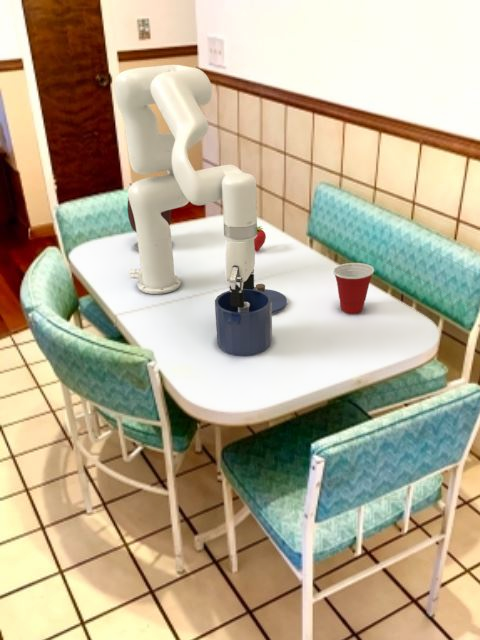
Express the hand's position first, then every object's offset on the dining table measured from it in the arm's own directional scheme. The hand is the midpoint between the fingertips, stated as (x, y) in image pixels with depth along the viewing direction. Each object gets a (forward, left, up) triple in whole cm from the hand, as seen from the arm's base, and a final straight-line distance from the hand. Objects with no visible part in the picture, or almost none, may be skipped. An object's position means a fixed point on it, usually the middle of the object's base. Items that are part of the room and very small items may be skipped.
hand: (242, 297), depth 153 cm
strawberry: (-11, +58, -12) cm, 60 cm away
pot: (0, 0, -12) cm, 12 cm away
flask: (0, 0, -12) cm, 12 cm away
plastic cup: (+24, +23, -12) cm, 36 cm away
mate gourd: (-47, +56, -12) cm, 74 cm away
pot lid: (-1, +21, -12) cm, 24 cm away
